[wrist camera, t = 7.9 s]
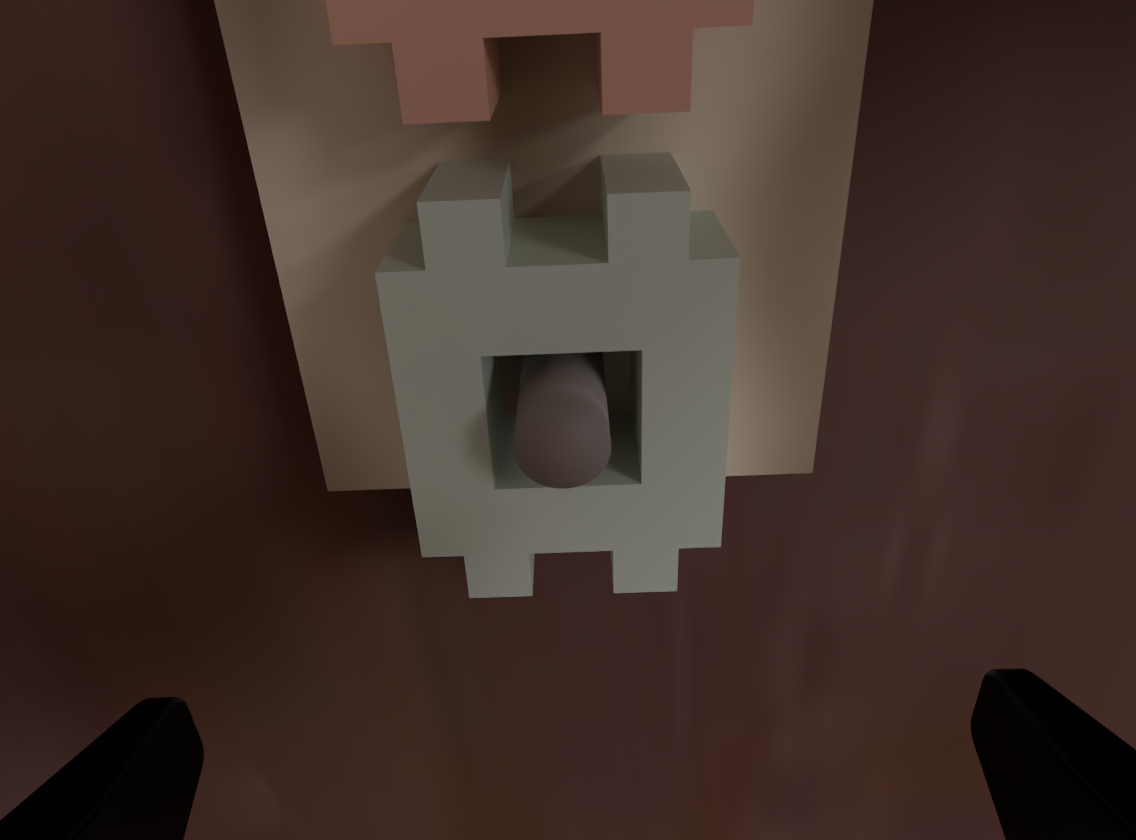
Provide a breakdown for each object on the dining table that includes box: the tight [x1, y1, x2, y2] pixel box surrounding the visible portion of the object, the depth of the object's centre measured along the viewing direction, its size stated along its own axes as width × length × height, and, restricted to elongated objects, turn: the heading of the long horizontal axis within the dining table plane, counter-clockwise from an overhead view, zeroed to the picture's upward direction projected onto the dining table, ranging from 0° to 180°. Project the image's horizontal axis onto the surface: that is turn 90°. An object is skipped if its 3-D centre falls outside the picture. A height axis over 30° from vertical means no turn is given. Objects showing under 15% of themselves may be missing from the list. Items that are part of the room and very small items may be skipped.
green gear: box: [375, 152, 740, 598], centre depth 17 cm, size 6×9×3 cm
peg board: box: [214, 0, 874, 491], centre depth 15 cm, size 12×17×6 cm
